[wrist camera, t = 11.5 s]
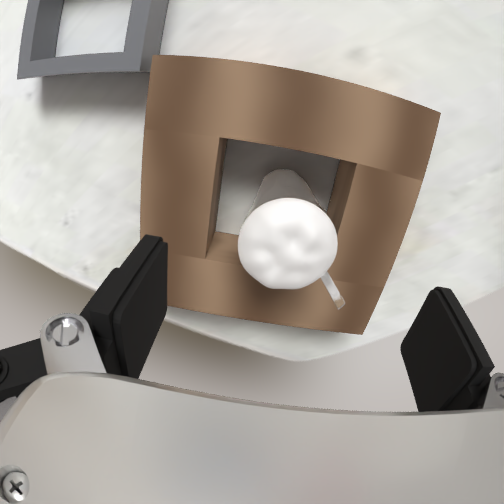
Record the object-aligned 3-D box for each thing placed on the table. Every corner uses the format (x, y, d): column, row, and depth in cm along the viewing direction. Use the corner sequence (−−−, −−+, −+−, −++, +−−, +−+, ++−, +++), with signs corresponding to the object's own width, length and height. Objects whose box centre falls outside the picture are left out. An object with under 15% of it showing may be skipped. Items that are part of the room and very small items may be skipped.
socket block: (413, 106, 18) (440, 112, 15) (352, 301, 26) (362, 334, 22) (173, 59, 18) (152, 54, 14) (158, 270, 25) (142, 300, 22)
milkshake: (295, 240, 24) (306, 337, 15) (236, 195, 22) (211, 274, 13) (338, 195, 22) (379, 273, 13) (278, 144, 20) (283, 192, 12)
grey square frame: (181, -55, 13) (169, -71, 11) (156, 72, 18) (139, 71, 16) (61, -37, 13) (40, -45, 11) (41, 76, 18) (17, 79, 15)
